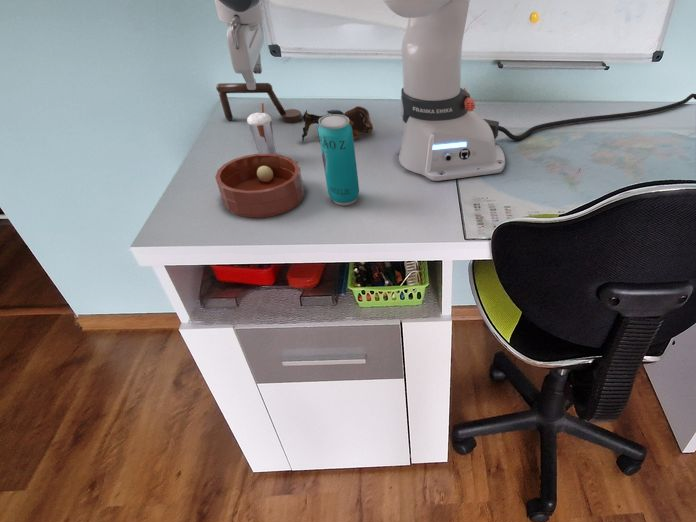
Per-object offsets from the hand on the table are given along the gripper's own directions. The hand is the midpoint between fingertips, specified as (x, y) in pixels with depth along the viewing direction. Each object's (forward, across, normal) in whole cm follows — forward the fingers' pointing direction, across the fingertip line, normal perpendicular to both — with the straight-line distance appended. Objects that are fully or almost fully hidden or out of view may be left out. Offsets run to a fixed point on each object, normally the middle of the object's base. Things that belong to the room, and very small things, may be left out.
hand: (255, 80), depth 119 cm
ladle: (+8, 0, 0) cm, 8 cm away
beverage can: (+8, -37, -19) cm, 43 cm away
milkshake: (+8, -19, -3) cm, 21 cm away
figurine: (+8, -9, -17) cm, 21 cm away
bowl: (+8, -35, -4) cm, 36 cm away
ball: (+6, -30, -4) cm, 31 cm away
